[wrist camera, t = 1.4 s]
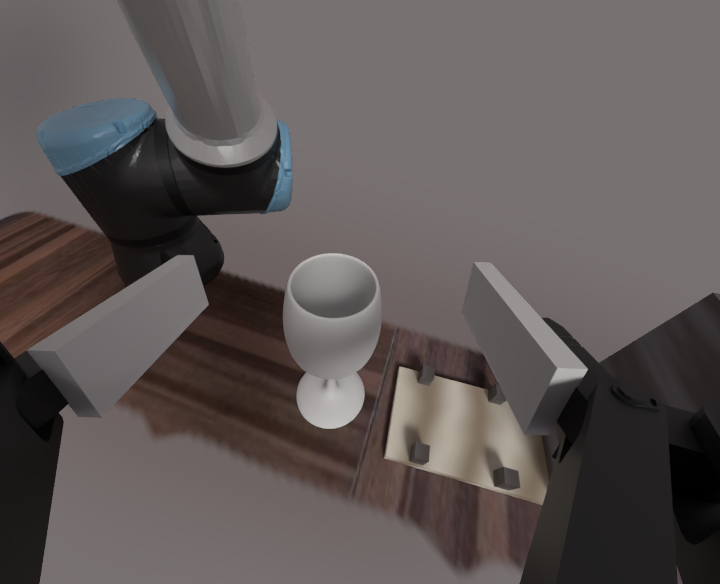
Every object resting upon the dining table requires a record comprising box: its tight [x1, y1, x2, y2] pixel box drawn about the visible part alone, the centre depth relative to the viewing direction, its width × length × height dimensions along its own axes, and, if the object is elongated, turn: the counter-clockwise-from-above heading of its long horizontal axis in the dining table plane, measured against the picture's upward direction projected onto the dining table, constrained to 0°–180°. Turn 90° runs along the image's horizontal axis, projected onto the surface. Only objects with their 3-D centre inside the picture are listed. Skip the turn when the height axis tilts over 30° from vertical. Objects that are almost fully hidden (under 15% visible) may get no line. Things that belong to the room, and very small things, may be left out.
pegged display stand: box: [384, 293, 720, 505], centre depth 25 cm, size 20×11×23 cm, turn 76°
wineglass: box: [283, 253, 382, 429], centre depth 28 cm, size 9×9×21 cm
